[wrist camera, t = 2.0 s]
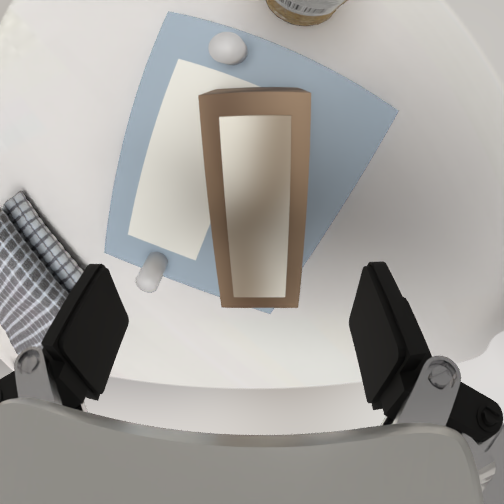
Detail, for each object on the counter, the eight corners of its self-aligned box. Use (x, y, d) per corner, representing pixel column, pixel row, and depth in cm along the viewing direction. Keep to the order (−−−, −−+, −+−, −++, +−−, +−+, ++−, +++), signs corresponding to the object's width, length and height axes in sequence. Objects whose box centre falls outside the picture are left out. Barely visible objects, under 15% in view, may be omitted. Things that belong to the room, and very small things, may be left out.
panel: (394, 109, 16) (419, 119, 13) (270, 307, 27) (270, 339, 24) (172, 13, 13) (150, 2, 10) (107, 247, 24) (89, 273, 21)
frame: (298, 87, 15) (311, 93, 11) (292, 261, 23) (298, 309, 19) (215, 89, 16) (197, 95, 11) (229, 261, 23) (221, 309, 19)
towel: (117, 290, 27) (87, 349, 21) (51, 329, 34) (29, 371, 27) (23, 179, 20) (-31, 221, 14) (-17, 256, 27) (-48, 292, 20)
